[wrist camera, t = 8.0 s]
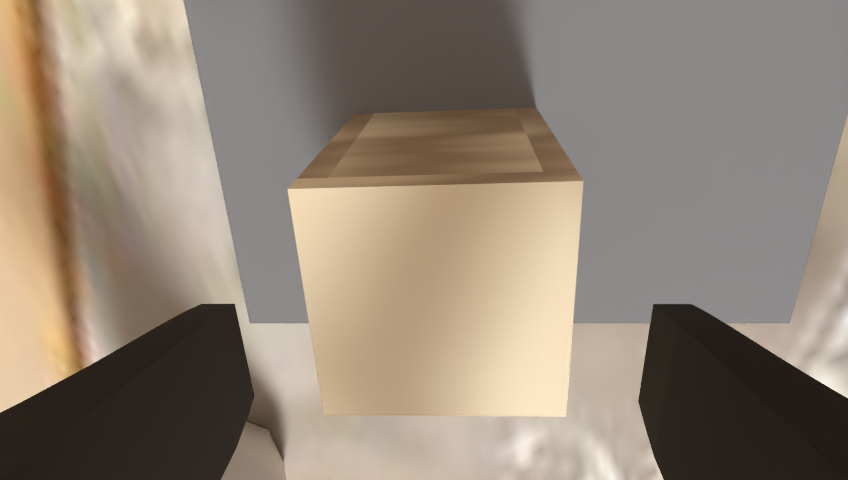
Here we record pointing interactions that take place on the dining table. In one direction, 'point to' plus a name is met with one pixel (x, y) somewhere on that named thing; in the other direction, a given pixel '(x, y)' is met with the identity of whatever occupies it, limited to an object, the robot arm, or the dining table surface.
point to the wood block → (440, 264)
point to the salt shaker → (255, 457)
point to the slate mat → (554, 128)
